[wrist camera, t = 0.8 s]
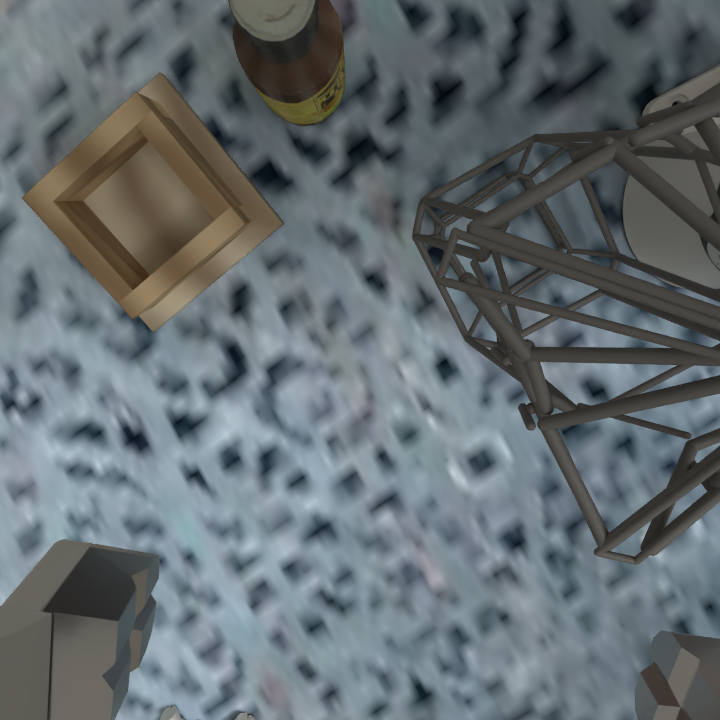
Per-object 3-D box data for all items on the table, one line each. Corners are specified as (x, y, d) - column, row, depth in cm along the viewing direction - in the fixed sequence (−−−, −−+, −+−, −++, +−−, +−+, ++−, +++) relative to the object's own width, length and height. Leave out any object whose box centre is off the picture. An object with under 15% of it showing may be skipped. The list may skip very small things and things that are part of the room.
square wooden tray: (164, 75, 46) (136, 57, 40) (284, 223, 49) (274, 227, 43) (35, 194, 48) (-10, 194, 42) (157, 328, 51) (132, 346, 45)
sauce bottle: (342, 131, 47) (335, 87, 28) (261, 123, 47) (198, 73, 28) (349, 40, 45) (346, -73, 26) (265, 32, 45) (201, -89, 26)
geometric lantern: (544, 103, 47) (1076, -110, 13) (623, 278, 51) (1185, 458, 17) (368, 208, 48) (439, 258, 15) (458, 369, 52) (675, 696, 19)
